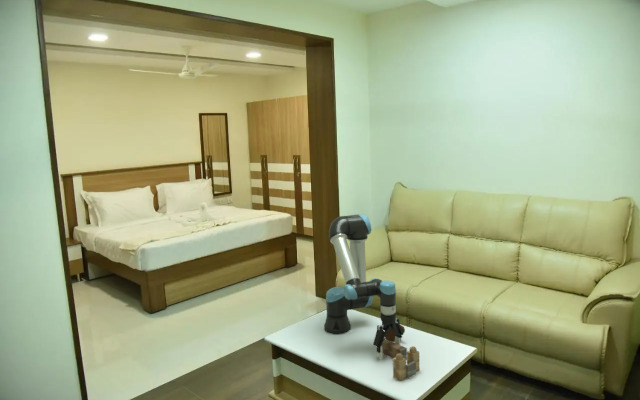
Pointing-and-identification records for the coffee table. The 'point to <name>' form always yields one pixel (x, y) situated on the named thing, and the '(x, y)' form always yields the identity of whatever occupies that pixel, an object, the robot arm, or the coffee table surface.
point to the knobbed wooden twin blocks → (406, 370)
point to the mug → (393, 334)
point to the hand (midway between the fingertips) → (389, 353)
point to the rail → (393, 349)
